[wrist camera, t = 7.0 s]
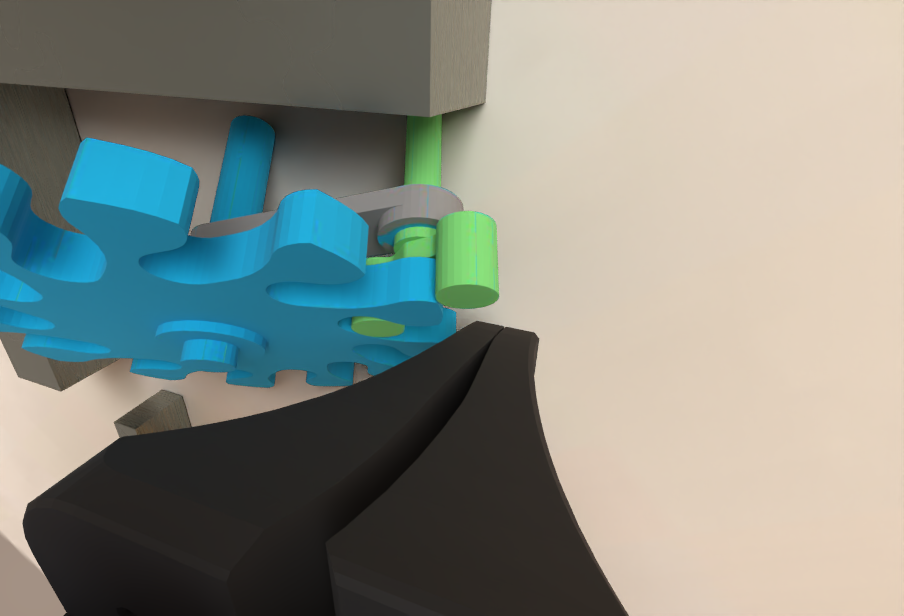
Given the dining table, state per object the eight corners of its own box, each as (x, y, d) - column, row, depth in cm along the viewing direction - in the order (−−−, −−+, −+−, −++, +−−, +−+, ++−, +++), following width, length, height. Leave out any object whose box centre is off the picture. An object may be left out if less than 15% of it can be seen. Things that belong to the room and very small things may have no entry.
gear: (199, 413, 16) (-360, 307, 7) (229, 250, 18) (-162, 3, 9) (545, 395, 12) (368, 145, 4) (531, 198, 15) (399, -267, 6)
